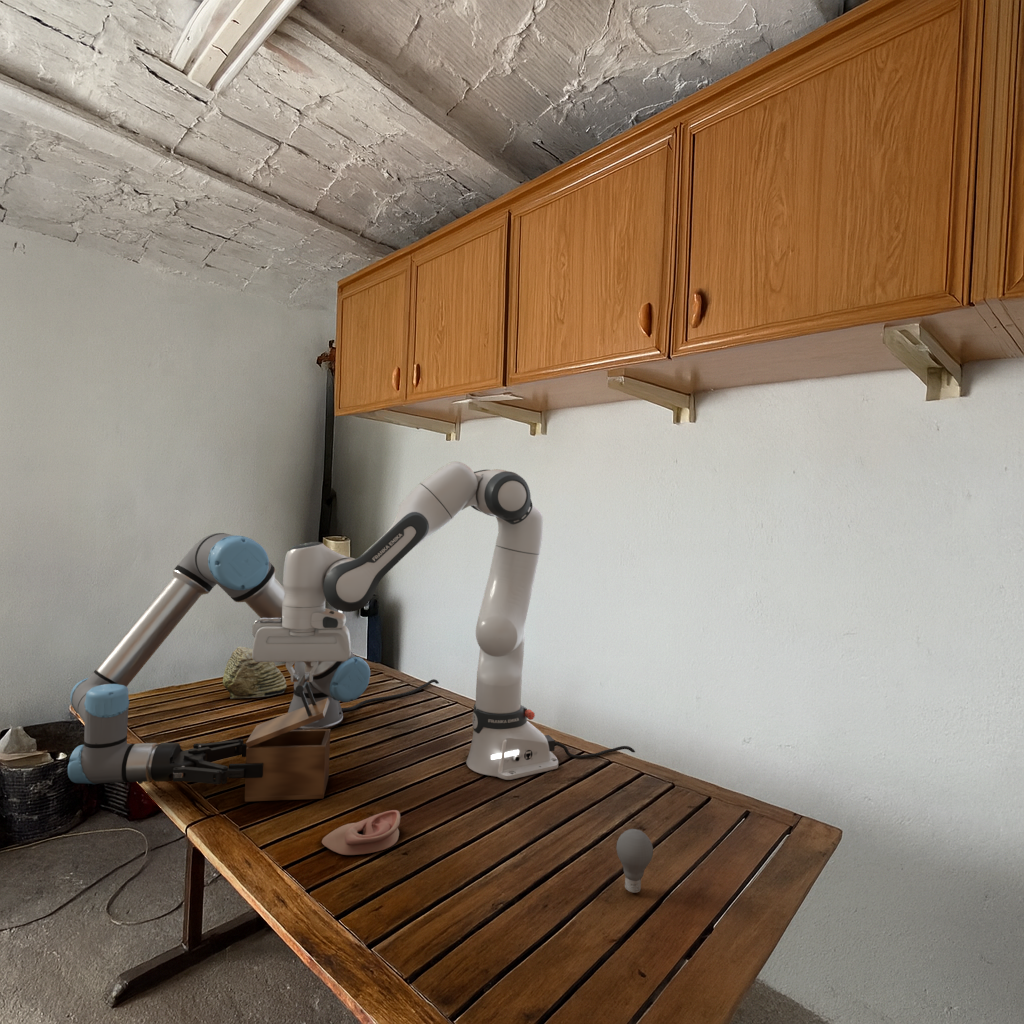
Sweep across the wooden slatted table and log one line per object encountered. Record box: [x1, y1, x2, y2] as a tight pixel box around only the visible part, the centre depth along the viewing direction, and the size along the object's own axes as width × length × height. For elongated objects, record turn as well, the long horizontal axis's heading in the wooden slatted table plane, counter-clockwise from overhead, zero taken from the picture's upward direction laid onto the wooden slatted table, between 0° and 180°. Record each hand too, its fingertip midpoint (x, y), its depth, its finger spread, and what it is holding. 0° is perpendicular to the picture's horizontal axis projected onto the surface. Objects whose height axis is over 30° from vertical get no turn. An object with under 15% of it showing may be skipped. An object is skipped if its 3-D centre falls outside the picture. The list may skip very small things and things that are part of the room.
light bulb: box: [615, 828, 654, 894], centre depth 106 cm, size 6×6×10 cm
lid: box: [245, 675, 329, 748], centre depth 136 cm, size 16×10×8 cm, turn 99°
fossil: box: [222, 646, 288, 699], centre depth 198 cm, size 9×18×15 cm, turn 132°
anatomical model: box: [321, 809, 401, 856], centre depth 118 cm, size 13×4×12 cm
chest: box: [244, 729, 331, 803], centre depth 136 cm, size 16×10×11 cm, turn 100°
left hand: (268, 759), depth 136 cm, fingers closed on chest, 10 cm apart
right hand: (301, 681), depth 136 cm, fingers closed
